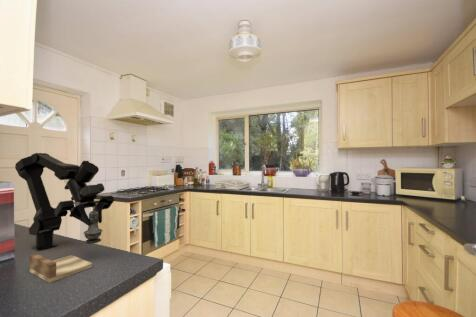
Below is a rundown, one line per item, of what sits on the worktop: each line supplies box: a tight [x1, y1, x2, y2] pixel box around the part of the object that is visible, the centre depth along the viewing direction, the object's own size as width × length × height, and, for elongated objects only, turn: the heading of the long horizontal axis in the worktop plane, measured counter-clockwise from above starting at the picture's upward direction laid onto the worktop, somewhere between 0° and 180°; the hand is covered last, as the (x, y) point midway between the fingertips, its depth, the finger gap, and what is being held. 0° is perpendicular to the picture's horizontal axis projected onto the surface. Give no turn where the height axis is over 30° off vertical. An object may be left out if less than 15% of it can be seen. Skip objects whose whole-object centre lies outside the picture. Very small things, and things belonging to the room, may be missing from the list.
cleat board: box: [28, 253, 94, 284], centre depth 75 cm, size 14×12×5 cm
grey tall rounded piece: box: [83, 208, 103, 245], centre depth 83 cm, size 6×6×12 cm
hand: (95, 223), depth 82 cm, fingers closed on grey tall rounded piece, 4 cm apart
